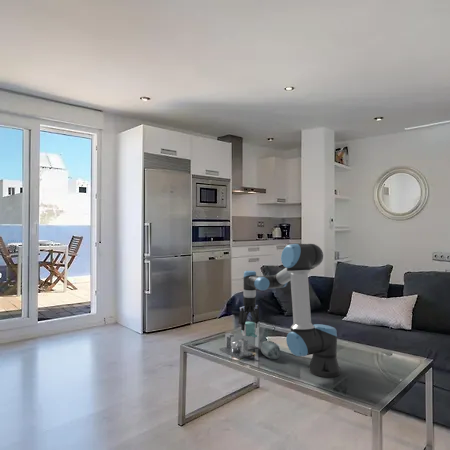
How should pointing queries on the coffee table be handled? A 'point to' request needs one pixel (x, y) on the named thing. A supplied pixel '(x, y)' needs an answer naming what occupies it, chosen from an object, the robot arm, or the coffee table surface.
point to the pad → (251, 347)
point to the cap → (250, 329)
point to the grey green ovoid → (270, 349)
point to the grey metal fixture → (236, 347)
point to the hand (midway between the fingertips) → (249, 334)
